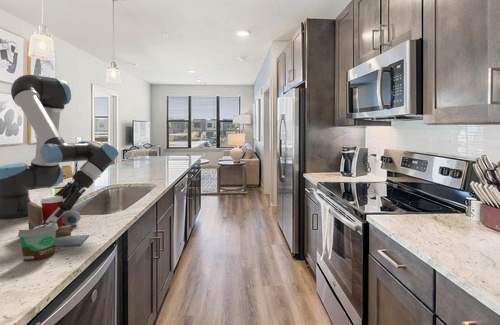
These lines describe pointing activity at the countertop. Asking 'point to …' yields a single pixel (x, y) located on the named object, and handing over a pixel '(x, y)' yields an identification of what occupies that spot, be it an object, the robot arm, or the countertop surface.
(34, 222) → the walnut rack
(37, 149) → the robot arm
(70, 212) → the crushed grey plastic bottle
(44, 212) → the paper cup
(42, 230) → the food container
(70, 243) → the charcoal mat
